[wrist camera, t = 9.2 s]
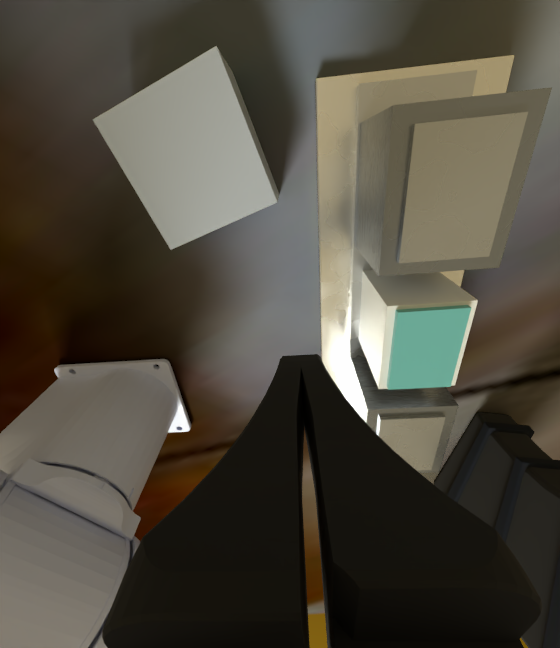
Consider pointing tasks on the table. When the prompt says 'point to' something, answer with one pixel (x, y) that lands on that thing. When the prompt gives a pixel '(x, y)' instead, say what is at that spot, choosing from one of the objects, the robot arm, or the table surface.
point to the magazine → (513, 505)
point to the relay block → (191, 150)
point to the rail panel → (413, 211)
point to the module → (414, 329)
